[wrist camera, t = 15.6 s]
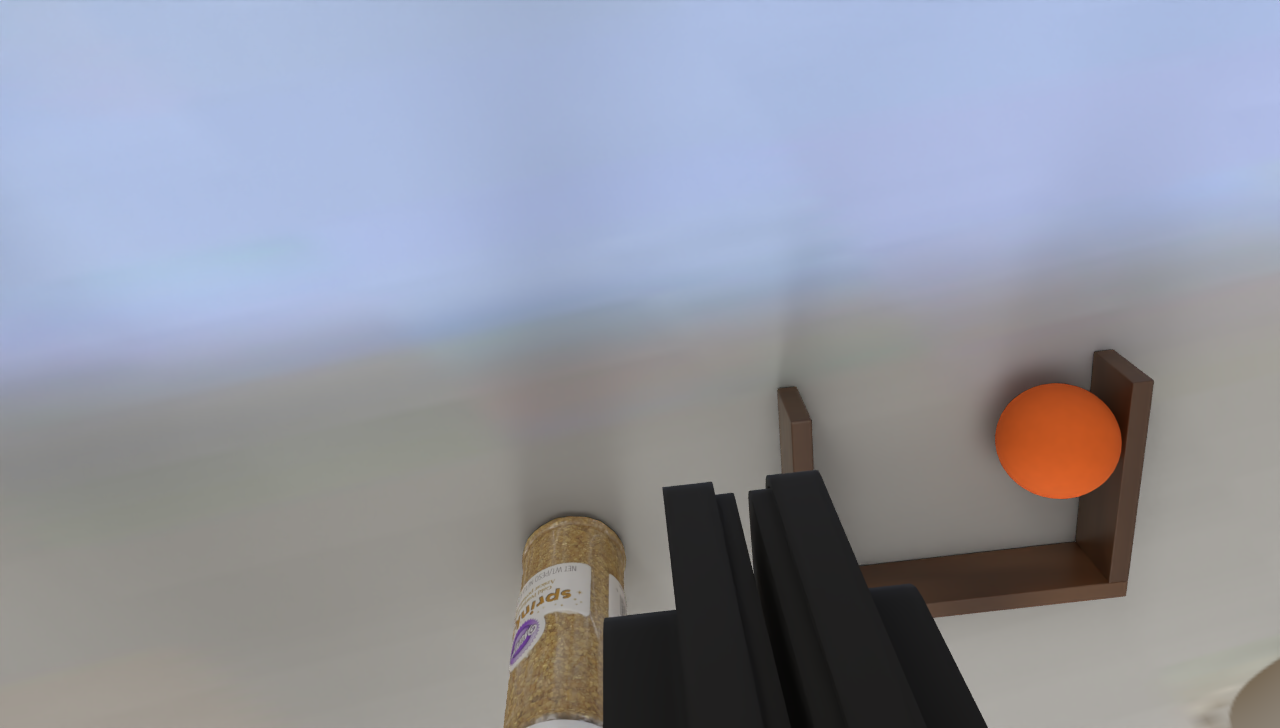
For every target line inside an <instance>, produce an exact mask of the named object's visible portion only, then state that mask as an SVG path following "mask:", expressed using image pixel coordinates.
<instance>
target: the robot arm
mask: <svg viewBox="0 0 1280 728" xmlns="http://www.w3.org/2000/svg"><path fill="white" fill-rule="evenodd" d="M663 496H664V505H665V514H666V523H667V532H668V541H669V550H670V559H671V568H672V577H673V586H674V595H675V604H676V610H671V611H662V612H653V613H644V614H635V615H626V616H617V617H609V618H604V622H603V728H988V727H987V725H986V723H985V721H984V719H983V717H982V715H981V713H980V711H979V709H978V707H977V705H976V703H975V701H974V699H973V697H972V695H971V693H970V691H969V689H968V687H967V685H966V683H965V681H964V679H963V677H962V675H961V673H960V671H959V669H958V667H957V665H956V663H955V661H954V659H953V657H952V655H951V653H950V651H949V649H948V647H947V645H946V643H945V641H944V639H943V637H942V635H941V633H940V631H939V629H938V627H937V625H936V623H935V621H934V619H933V617H932V615H931V613H930V611H929V609H928V607H927V605H926V603H925V601H924V599H923V597H922V595H921V594H920V592H919V591H918V589H917V587H915V586H914V585H912V584H911V583H910V584H901V585H892V586H883V587H874V588H868V586H867V584H866V582H865V579H864V577H863V574H862V572H861V570H860V567H859V565H858V563H857V560H856V558H855V555H854V553H853V551H852V548H851V546H850V544H849V541H848V539H847V536H846V534H845V532H844V529H843V527H842V525H841V522H840V520H839V517H838V515H837V513H836V510H835V508H834V506H833V503H832V501H831V498H830V496H829V494H828V491H827V489H826V487H825V484H824V482H823V479H822V477H821V475H820V473H819V471H818V470H810V471H802V472H793V473H784V474H775V475H767V477H766V489H762V490H753V491H749V494H748V499H749V515H750V528H751V542H752V556H753V569H754V574H753V570H752V566H751V562H750V558H749V553H748V549H747V545H746V541H745V537H744V533H743V529H742V525H741V521H740V517H739V512H738V508H737V504H736V500H735V496H734V493H727V494H718V495H715V492H714V488H713V484H712V482H705V483H697V484H688V485H679V486H670V487H663Z"/></svg>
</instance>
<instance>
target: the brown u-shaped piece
mask: <svg viewBox="0 0 1280 728" xmlns="http://www.w3.org/2000/svg"><path fill="white" fill-rule="evenodd" d="M1153 384H1154V380H1153V379H1151V378H1150V377H1149V376H1147V375H1146V374H1145V373H1143V372H1142V371H1141V370H1139V369H1138V368H1137V367H1136V366H1134V365H1133V364H1132V363H1130V362H1129V361H1128V360H1126V359H1125V358H1124V357H1122V356H1121V355H1120V354H1119V353H1117V352H1116V351H1115V350H1105V351H1097V352H1094V360H1093V370H1092V380H1091V390H1090V392H1091V393H1092V394H1094V395H1095V396H1097V397H1098V398H1099V399H1101V400H1102V401H1103V402H1104V403H1105V404H1106V405H1107V406H1108V407H1109V409H1110V410H1111V411H1112V413H1113V414H1114V416H1115V418H1116V420H1117V423H1118V425H1119V428H1120V432H1121V440H1122V446H1121V454H1120V458H1119V461H1118V463H1117V466H1116V468H1115V470H1114V471H1113V473H1112V474H1111V475H1110V477H1109V478H1108V479H1107V480H1106V481H1105V482H1104V483H1103V484H1102V485H1101V486H1099V487H1098V488H1096V489H1095V490H1093V491H1091V492H1089V493H1087V494H1084V495H1082V496H1080V501H1079V511H1078V521H1077V531H1076V542H1068V543H1059V544H1050V545H1041V546H1033V547H1024V548H1015V549H1006V550H997V551H988V552H979V553H971V554H962V555H953V556H944V557H935V558H926V559H918V560H909V561H900V562H891V563H882V564H873V565H865V566H859V567H860V570H861V572H862V574H863V577H864V579H865V582H866V584H867V586H868V588H874V587H883V586H892V585H901V584H910V583H911V584H912V585H914V586H915V587H917V589H918V591H919V592H920V594H921V595H922V597H923V599H924V601H925V603H926V605H927V607H928V609H929V611H930V613H931V615H932V617H933V618H936V617H945V616H954V615H963V614H971V613H980V612H989V611H998V610H1007V609H1016V608H1025V607H1034V606H1043V605H1052V604H1060V603H1069V602H1078V601H1087V600H1096V599H1105V598H1114V597H1123V596H1126V591H1127V583H1128V581H1127V580H1128V576H1129V568H1130V561H1131V553H1132V545H1133V538H1134V530H1135V522H1136V515H1137V507H1138V499H1139V492H1140V484H1141V476H1142V469H1143V461H1144V453H1145V446H1146V438H1147V430H1148V423H1149V415H1150V407H1151V400H1152V392H1153ZM777 392H778V411H779V429H780V447H781V465H782V474H784V473H793V472H802V471H810V470H814V467H813V441H812V420H811V418H810V416H809V414H808V411H807V409H806V407H805V405H804V402H803V400H802V398H801V396H800V394H799V391H798V389H797V387H788V388H779V389H778V390H777Z"/></svg>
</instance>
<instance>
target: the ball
mask: <svg viewBox="0 0 1280 728" xmlns="http://www.w3.org/2000/svg"><path fill="white" fill-rule="evenodd" d="M995 444H996V451H997V454H998V457H999V460H1000V462H1001V464H1002V466H1003V468H1004V469H1005V471H1006V472H1007V474H1008V475H1009V476H1010V477H1011V478H1012V479H1013V480H1014V481H1015V482H1016V483H1017V484H1018V485H1020V486H1021V487H1023V488H1024V489H1026V490H1028V491H1030V492H1032V493H1034V494H1037V495H1040V496H1043V497H1047V498H1054V499H1067V498H1074V497H1079V496H1082V495H1084V494H1087V493H1089V492H1091V491H1093V490H1095V489H1096V488H1098V487H1099V486H1101V485H1102V484H1103V483H1104V482H1105V481H1106V480H1107V479H1108V478H1109V477H1110V475H1111V474H1112V473H1113V471H1114V470H1115V468H1116V466H1117V463H1118V461H1119V458H1120V454H1121V446H1122V440H1121V432H1120V428H1119V425H1118V423H1117V420H1116V418H1115V416H1114V414H1113V413H1112V411H1111V410H1110V409H1109V407H1108V406H1107V405H1106V404H1105V403H1104V402H1103V401H1102V400H1101V399H1099V398H1098V397H1097V396H1095V395H1094V394H1092V393H1091V392H1089V391H1087V390H1085V389H1082V388H1080V387H1077V386H1073V385H1069V384H1060V383H1051V384H1043V385H1039V386H1036V387H1033V388H1030V389H1028V390H1026V391H1024V392H1022V393H1021V394H1019V395H1018V396H1017V397H1015V398H1014V399H1013V400H1012V401H1011V402H1010V403H1009V404H1008V405H1007V406H1006V408H1005V409H1004V411H1003V413H1002V414H1001V416H1000V418H999V421H998V424H997V427H996V434H995Z"/></svg>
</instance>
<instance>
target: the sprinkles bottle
mask: <svg viewBox="0 0 1280 728" xmlns="http://www.w3.org/2000/svg"><path fill="white" fill-rule="evenodd" d="M522 563H523V577H522V587H521V593H520V595H519V598H518V603H517V610H516V618H515V625H514V634H513V641H512V650H511V657H510V666H509V672H510V679H509V683H508V691H507V701H506V710H505V720H504V728H603V622H604V618H609V617H617V616H626V615H627V606H626V598H625V594H624V582H623V579H624V570H625V566H626V556H625V551H624V547H623V544H622V542H621V541H620V539H619V538H618V536H617V535H616V534H615V532H614V531H612V530H611V529H610V528H609V527H608V526H606V525H605V524H604V523H602V522H601V521H599V520H595V519H592V518H589V517H572V516H566V517H564V518H556V519H554V520H552V521H549V522H548V523H546V524H545V525H543V526H541V527H540V528H539V529H537V530H536V531H535V532H534V533H533V534H532V535H531V536H530V537H529V538H528V540H527V543H526V545H525V548H524V551H523V559H522Z"/></svg>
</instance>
